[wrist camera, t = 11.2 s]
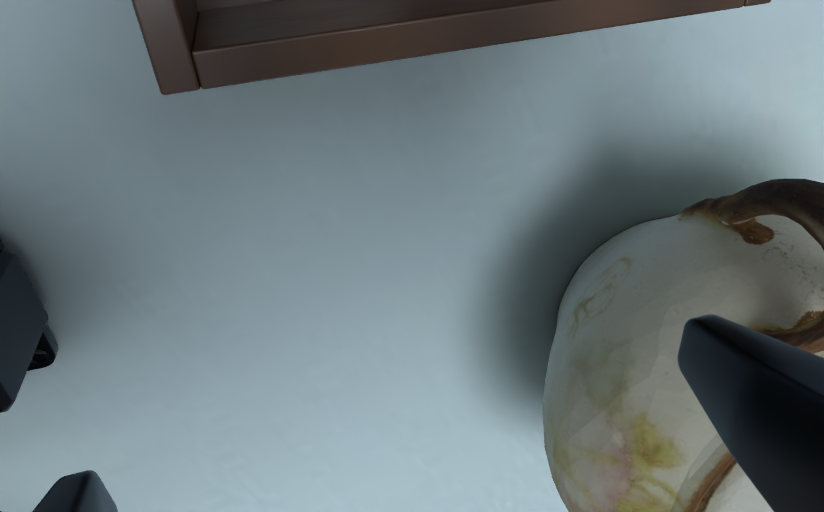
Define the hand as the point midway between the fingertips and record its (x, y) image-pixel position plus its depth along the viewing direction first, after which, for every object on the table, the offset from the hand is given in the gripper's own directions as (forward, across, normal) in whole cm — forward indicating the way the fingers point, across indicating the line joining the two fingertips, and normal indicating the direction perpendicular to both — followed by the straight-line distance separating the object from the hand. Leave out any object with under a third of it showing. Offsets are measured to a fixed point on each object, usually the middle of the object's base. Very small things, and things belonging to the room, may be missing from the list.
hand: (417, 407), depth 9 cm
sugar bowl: (+12, -13, +10) cm, 20 cm away
